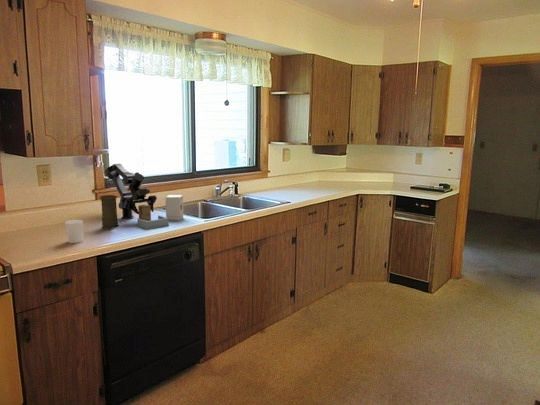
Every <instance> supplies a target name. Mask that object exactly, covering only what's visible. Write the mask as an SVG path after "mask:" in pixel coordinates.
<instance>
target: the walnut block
mask: <svg viewBox="0 0 540 405" xmlns="http://www.w3.org/2000/svg"><path fill="white" fill-rule="evenodd" d="M137 210H138V212H139V214H138V218H139V219H142V220H145V221H152V215H151V214H152V213H151V212H152V211H151V209H150V206H149V205H148V204H141V205H138V208H137Z"/></svg>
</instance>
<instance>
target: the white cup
mask: <svg viewBox="0 0 540 405" xmlns="http://www.w3.org/2000/svg"><path fill="white" fill-rule="evenodd" d="M65 229H66V230H65V231H66V236H67V242H68V243H69V244H77V243H81V242H82V243H83V241H84V220H83V219H72V220H68V221H67V220H66V221H65Z"/></svg>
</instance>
